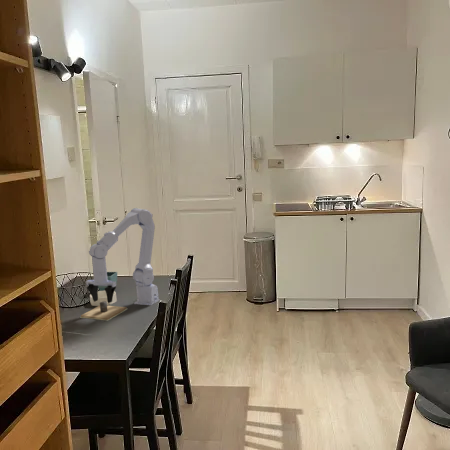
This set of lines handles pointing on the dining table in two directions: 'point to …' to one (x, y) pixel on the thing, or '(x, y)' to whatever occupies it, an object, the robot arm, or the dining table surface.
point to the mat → (103, 319)
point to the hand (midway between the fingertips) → (102, 301)
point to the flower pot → (110, 276)
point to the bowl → (102, 298)
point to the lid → (103, 311)
